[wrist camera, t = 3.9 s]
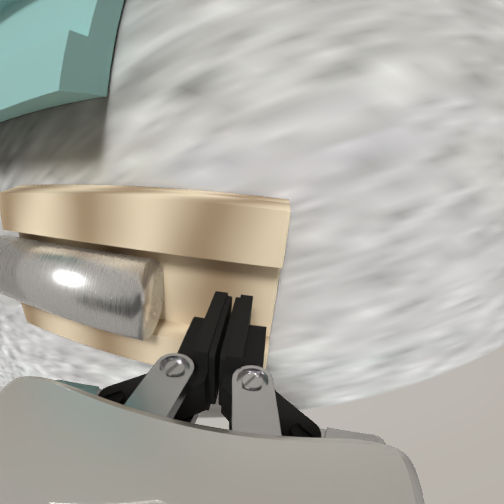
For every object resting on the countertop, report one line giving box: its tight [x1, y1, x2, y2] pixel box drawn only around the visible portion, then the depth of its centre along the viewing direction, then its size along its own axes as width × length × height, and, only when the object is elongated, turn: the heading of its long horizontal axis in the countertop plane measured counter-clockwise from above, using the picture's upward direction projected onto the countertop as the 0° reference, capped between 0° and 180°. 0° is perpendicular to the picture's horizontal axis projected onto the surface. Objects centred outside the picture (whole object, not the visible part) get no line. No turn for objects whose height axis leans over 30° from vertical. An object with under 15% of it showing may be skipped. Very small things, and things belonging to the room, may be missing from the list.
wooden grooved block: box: [0, 185, 291, 369], centre depth 15 cm, size 18×10×2 cm, turn 85°
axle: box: [0, 235, 164, 341], centre depth 13 cm, size 12×4×4 cm, turn 85°
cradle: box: [0, 0, 124, 122], centre depth 8 cm, size 12×12×4 cm
